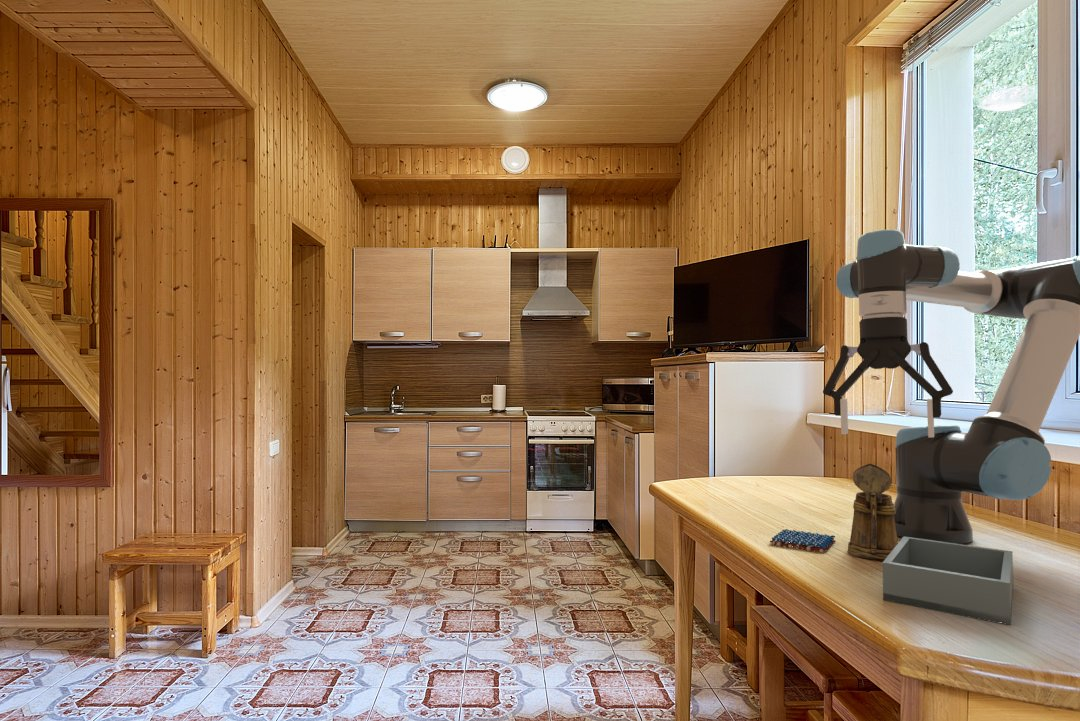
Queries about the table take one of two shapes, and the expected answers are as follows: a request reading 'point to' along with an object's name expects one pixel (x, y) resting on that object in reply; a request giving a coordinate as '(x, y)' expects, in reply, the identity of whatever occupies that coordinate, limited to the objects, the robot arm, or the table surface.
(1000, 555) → the bin
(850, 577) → the table surface
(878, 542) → the wooden mug
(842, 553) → the table surface
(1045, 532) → the table surface
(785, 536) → the woven mat
